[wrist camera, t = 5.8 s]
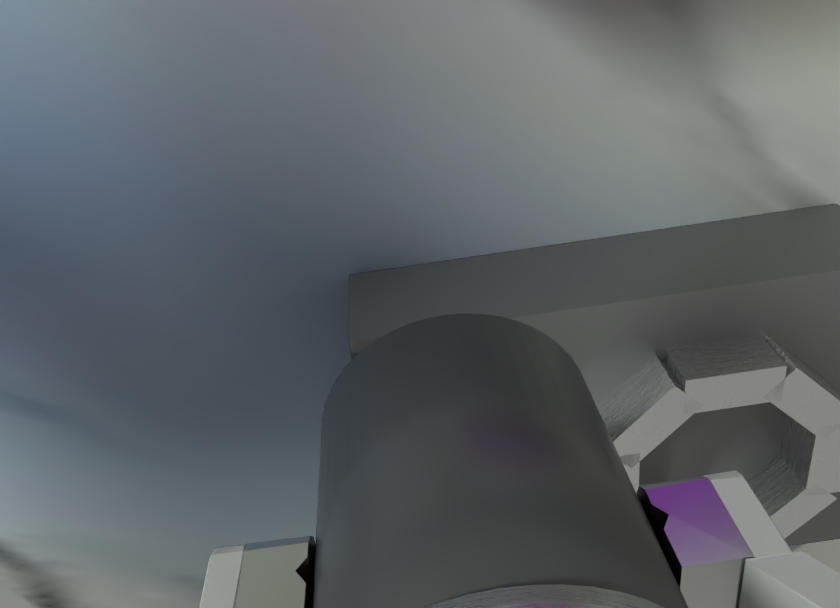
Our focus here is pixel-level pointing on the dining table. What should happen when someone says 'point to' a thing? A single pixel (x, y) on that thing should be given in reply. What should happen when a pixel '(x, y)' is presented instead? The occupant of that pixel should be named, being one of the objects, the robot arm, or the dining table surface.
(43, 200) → the dining table surface
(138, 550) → the dining table surface
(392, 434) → the lens
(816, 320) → the camera body
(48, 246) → the dining table surface
